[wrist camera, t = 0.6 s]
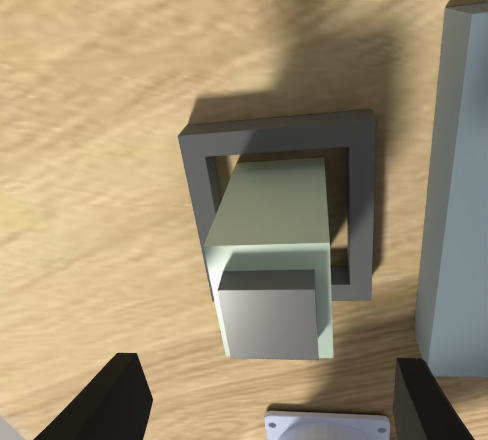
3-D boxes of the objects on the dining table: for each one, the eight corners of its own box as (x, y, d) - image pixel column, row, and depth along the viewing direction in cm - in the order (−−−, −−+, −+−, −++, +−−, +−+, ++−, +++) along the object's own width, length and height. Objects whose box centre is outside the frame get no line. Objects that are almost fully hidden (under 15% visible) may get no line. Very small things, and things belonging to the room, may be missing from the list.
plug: (327, 249, 21) (334, 381, 14) (249, 252, 22) (220, 377, 15) (324, 157, 19) (331, 261, 12) (236, 163, 20) (196, 264, 13)
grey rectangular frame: (367, 281, 22) (371, 300, 20) (218, 283, 23) (212, 301, 22) (371, 109, 17) (376, 119, 16) (186, 125, 19) (177, 136, 18)
